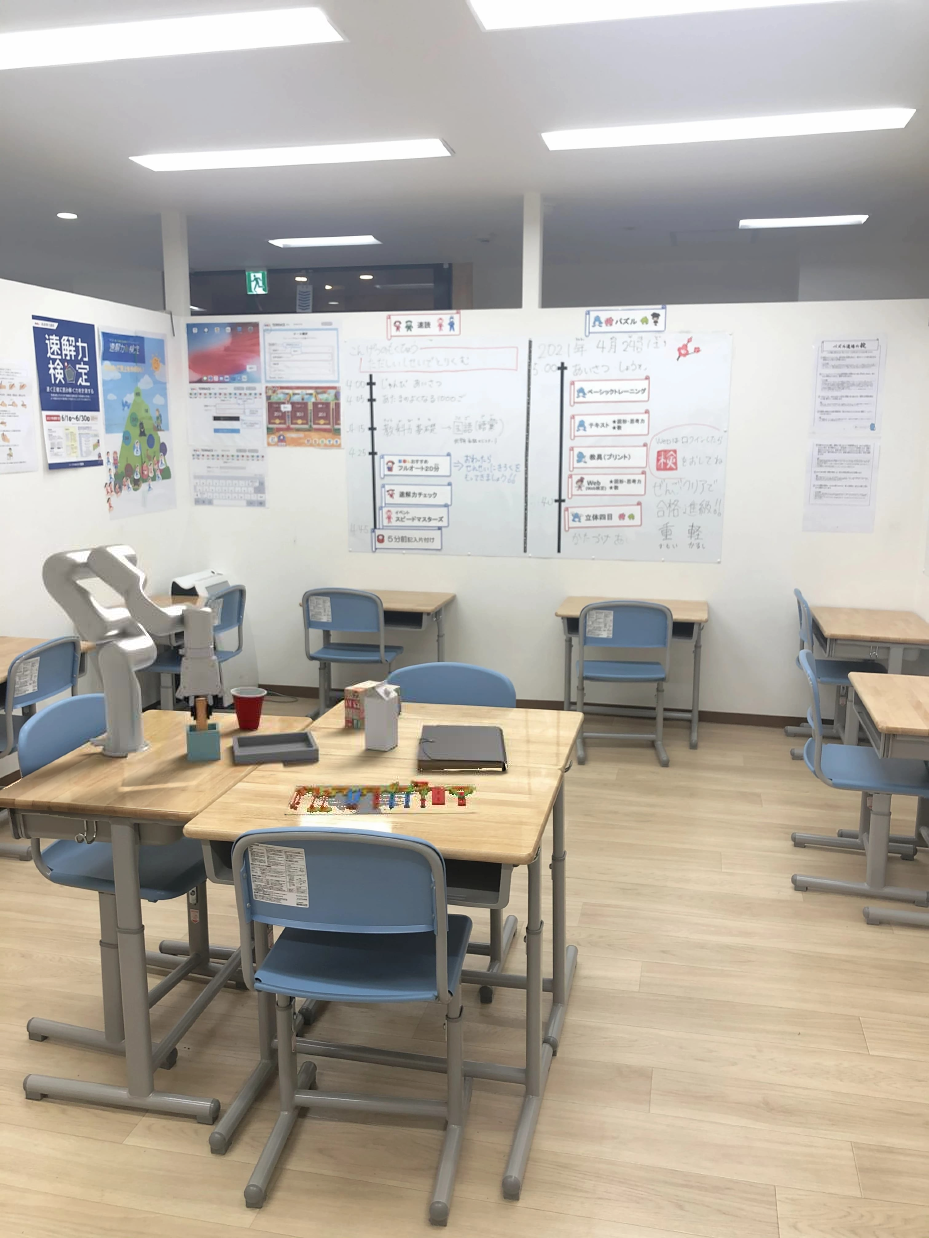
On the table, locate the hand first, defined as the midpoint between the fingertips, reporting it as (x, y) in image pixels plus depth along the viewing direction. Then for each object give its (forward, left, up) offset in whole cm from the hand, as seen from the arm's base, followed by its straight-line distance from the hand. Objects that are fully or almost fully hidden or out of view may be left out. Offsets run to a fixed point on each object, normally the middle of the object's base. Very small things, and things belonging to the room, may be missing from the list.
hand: (201, 718), depth 250 cm
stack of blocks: (+53, +27, -12) cm, 61 cm away
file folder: (+70, -13, -12) cm, 72 cm away
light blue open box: (0, 0, -12) cm, 12 cm away
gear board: (+41, -44, -12) cm, 62 cm away
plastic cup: (+14, +28, -12) cm, 33 cm away
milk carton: (+49, -2, -12) cm, 51 cm away
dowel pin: (0, 0, -10) cm, 10 cm away
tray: (+19, -1, -12) cm, 22 cm away
